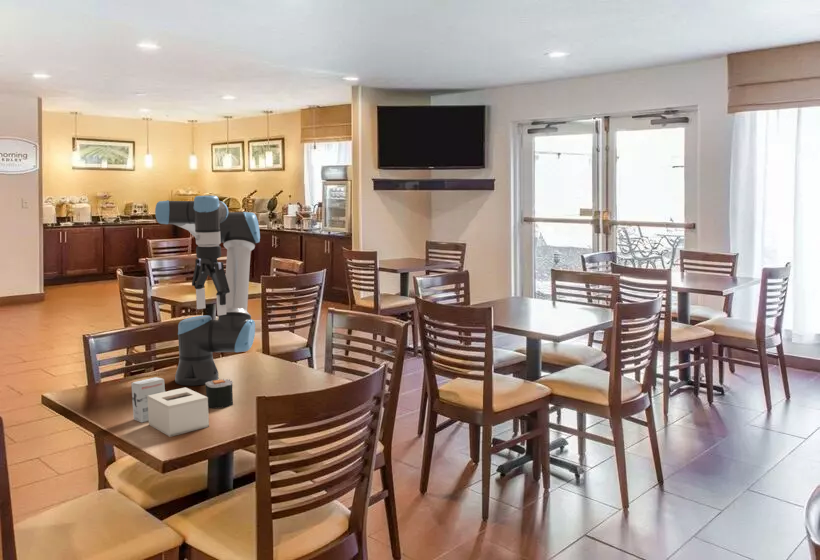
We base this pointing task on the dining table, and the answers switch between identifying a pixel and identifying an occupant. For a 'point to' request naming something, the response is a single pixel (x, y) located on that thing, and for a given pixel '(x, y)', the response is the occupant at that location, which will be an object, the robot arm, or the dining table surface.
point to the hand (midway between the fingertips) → (211, 311)
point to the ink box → (144, 396)
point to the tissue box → (178, 411)
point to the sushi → (219, 393)
